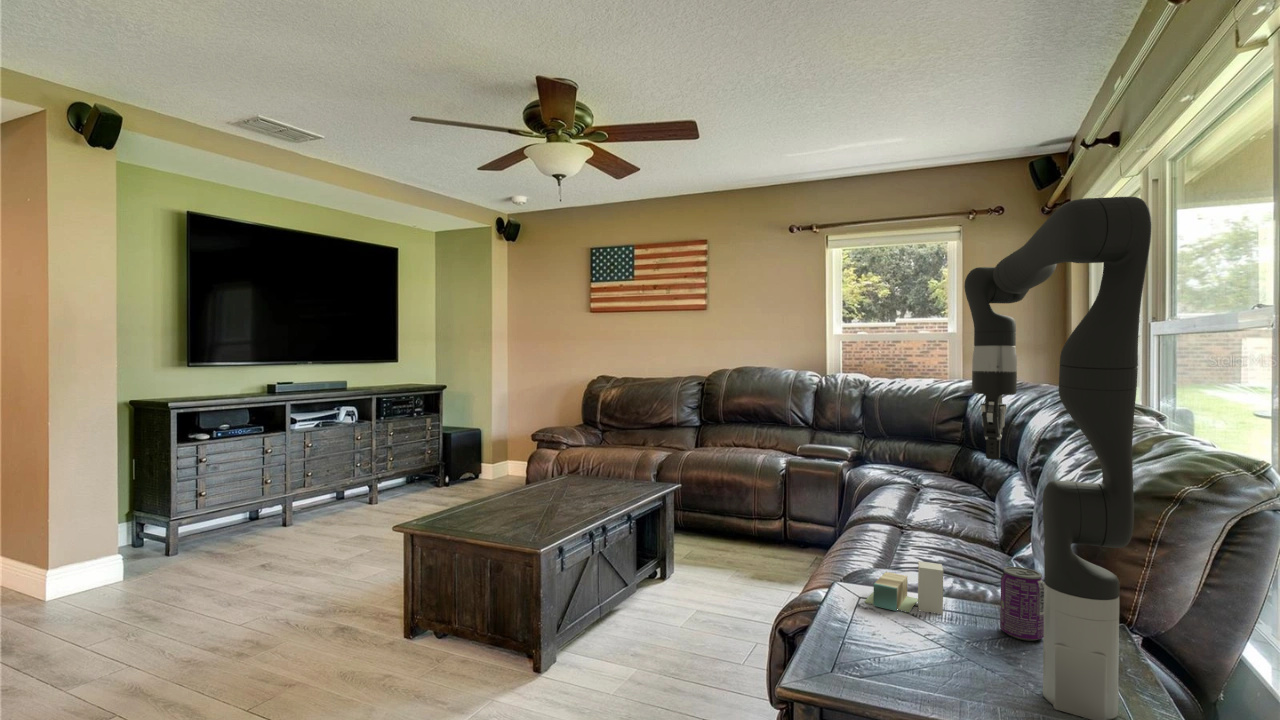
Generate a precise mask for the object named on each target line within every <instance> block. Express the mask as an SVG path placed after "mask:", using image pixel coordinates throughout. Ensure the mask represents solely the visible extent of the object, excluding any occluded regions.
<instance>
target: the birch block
mask: <svg viewBox="0 0 1280 720" xmlns="http://www.w3.org/2000/svg"><path fill="white" fill-rule="evenodd" d="M873 592H874V595H873V607H877V608H882V609H886V610H891V611H895V612H896V611H897V609H898V608H899V607H900V605H901V604H902V603H903V601H904V600H905V599H906V598H907V596H908V575H904V574H898V573H894V572H888V571H886V572H885V573H883V574H882V575H881V576H880V577H879V578H878V579H877V580H876V581H875V582H874V583H873Z"/></svg>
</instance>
